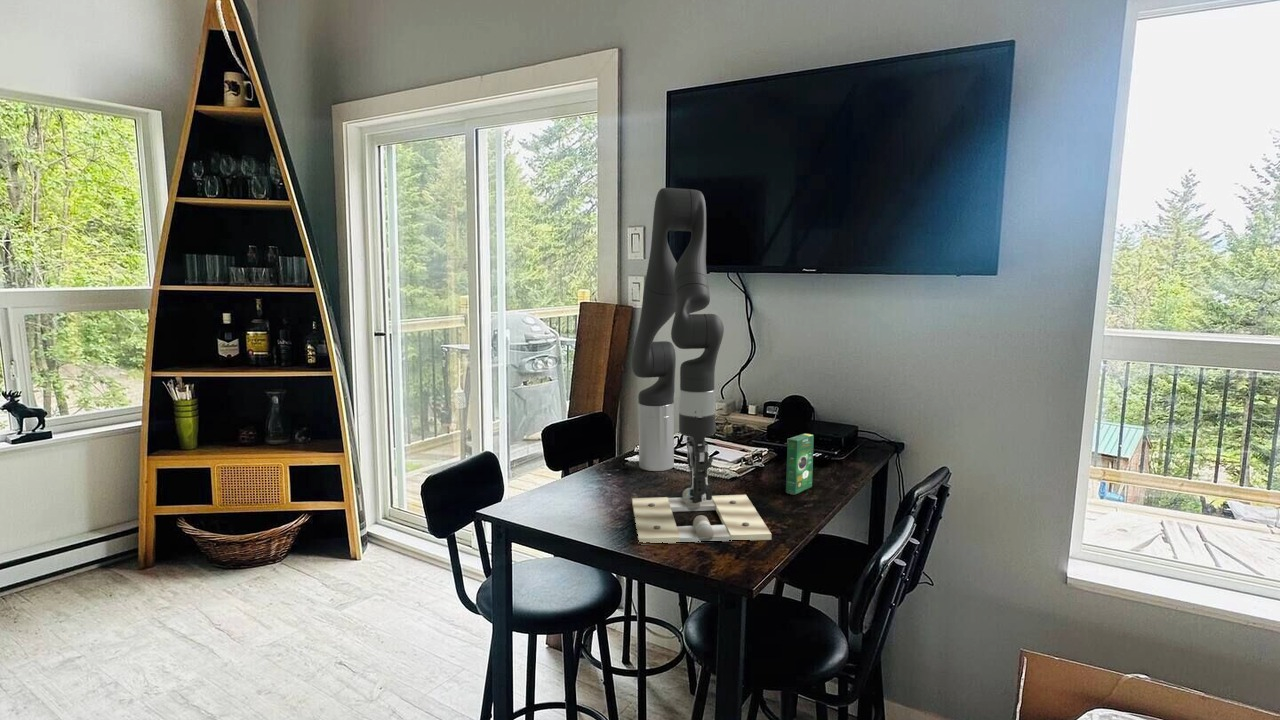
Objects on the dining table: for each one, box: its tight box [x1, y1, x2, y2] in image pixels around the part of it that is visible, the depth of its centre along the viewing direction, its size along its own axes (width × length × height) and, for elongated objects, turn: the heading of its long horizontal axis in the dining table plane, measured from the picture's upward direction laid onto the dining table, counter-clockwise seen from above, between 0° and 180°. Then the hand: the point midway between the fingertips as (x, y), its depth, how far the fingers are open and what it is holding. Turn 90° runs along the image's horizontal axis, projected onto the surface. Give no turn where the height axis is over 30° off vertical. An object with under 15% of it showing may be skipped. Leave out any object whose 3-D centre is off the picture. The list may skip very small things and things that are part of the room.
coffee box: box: [785, 432, 815, 495], centre depth 166 cm, size 8×3×13 cm, turn 137°
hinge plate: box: [631, 487, 772, 544], centre depth 148 cm, size 23×26×3 cm
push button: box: [684, 456, 714, 504], centre depth 147 cm, size 7×5×10 cm
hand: (697, 490), depth 147 cm, fingers closed on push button, 4 cm apart
